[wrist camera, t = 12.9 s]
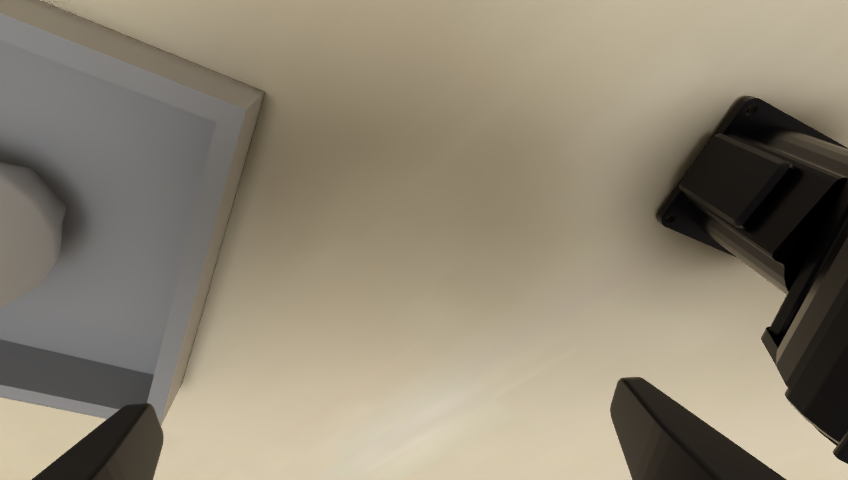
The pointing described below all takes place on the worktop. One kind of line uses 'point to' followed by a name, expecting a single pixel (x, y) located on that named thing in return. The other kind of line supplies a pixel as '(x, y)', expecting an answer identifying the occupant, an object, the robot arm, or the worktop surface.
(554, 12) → the worktop surface
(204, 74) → the tray
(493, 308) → the worktop surface
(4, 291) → the salt shaker
